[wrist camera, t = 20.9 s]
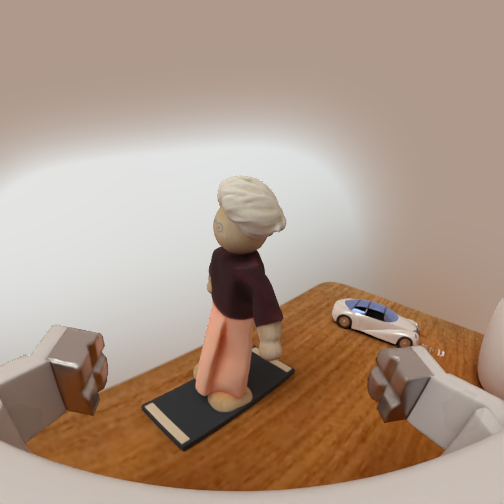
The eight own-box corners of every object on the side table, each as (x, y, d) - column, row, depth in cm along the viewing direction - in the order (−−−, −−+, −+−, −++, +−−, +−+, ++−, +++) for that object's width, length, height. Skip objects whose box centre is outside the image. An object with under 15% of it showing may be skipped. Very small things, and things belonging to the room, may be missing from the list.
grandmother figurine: (168, 364, 19) (174, 166, 15) (216, 350, 22) (235, 168, 18) (236, 446, 14) (276, 193, 10) (289, 418, 16) (345, 195, 12)
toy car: (443, 364, 22) (455, 340, 21) (326, 322, 28) (332, 297, 27) (445, 345, 25) (455, 322, 24) (338, 308, 31) (344, 285, 30)
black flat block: (183, 451, 13) (182, 447, 13) (141, 409, 16) (140, 404, 15) (294, 373, 21) (295, 368, 21) (253, 349, 23) (254, 344, 23)
